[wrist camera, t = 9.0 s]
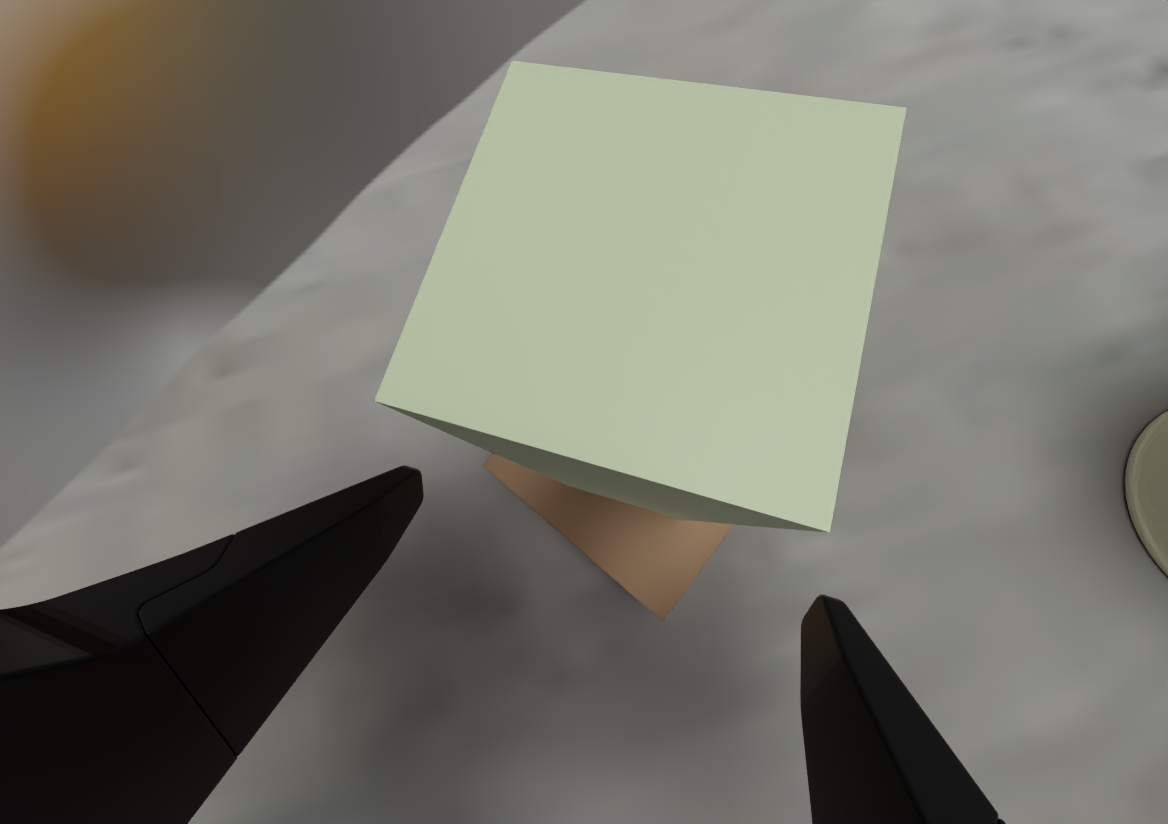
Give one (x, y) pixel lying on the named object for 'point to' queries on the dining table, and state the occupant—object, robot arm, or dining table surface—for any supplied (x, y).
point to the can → (1150, 489)
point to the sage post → (658, 292)
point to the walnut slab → (620, 535)
